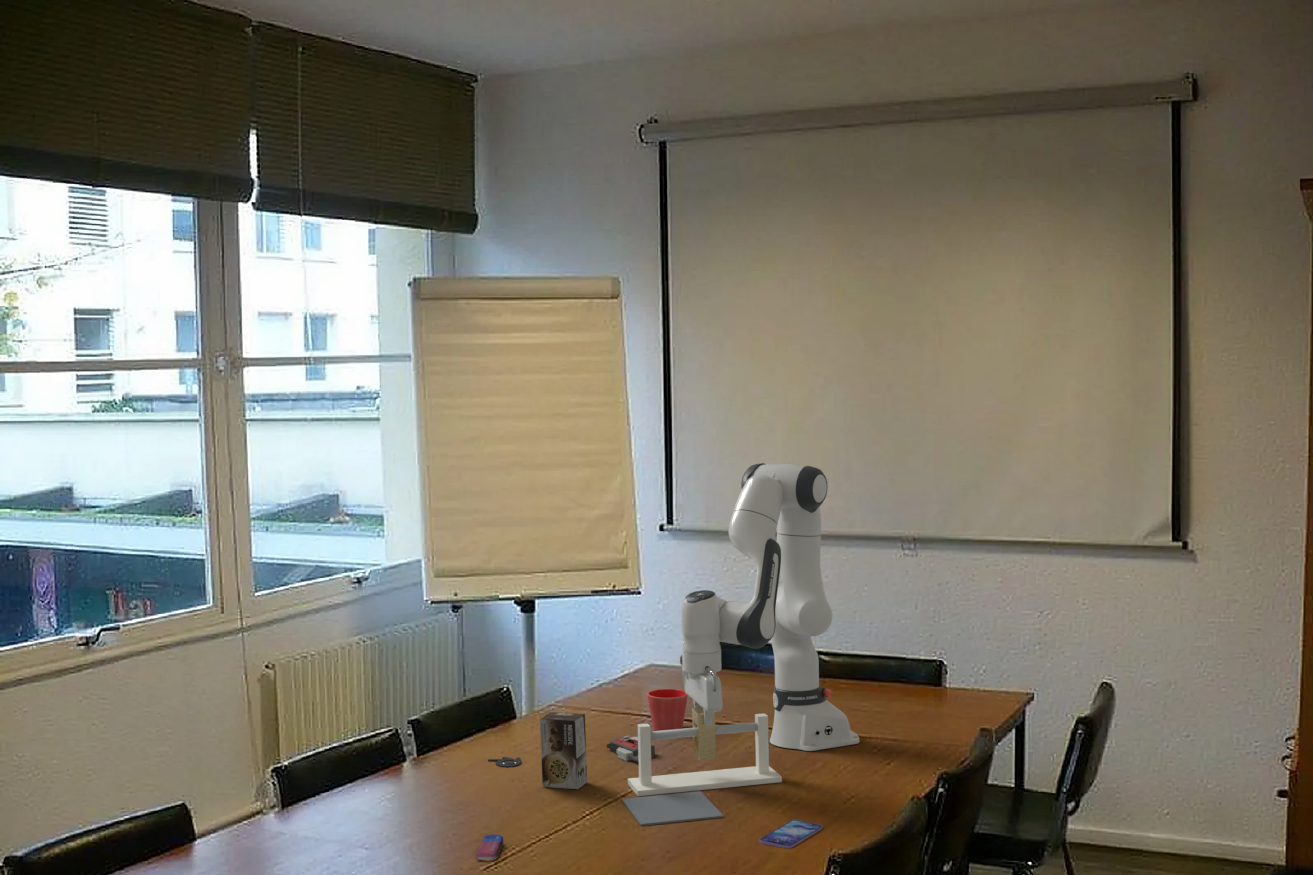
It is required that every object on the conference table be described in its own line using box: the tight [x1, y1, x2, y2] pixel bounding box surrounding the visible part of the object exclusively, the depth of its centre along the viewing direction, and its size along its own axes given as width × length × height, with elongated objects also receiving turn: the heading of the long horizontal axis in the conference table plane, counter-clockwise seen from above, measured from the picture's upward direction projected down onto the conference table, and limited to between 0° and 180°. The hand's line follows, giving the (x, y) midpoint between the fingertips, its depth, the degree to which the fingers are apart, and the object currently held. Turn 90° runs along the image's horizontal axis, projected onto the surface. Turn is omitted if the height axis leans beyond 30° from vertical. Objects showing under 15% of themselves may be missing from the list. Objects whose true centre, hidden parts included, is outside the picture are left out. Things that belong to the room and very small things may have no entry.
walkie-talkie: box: [606, 735, 656, 764], centre depth 351 cm, size 9×4×20 cm
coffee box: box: [539, 711, 588, 790], centre depth 328 cm, size 9×6×16 cm
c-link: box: [691, 707, 717, 762], centre depth 327 cm, size 4×5×11 cm
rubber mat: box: [621, 790, 724, 827], centre depth 309 cm, size 18×18×1 cm
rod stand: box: [627, 713, 783, 797], centre depth 327 cm, size 34×10×15 cm, turn 104°
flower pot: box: [647, 688, 688, 731], centre depth 376 cm, size 11×11×10 cm
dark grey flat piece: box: [487, 756, 522, 768], centre depth 349 cm, size 9×8×1 cm
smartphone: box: [759, 819, 824, 849], centre depth 291 cm, size 7×1×15 cm
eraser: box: [475, 833, 504, 860], centre depth 285 cm, size 11×4×2 cm, turn 177°
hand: (703, 722), depth 327 cm, fingers closed on c-link, 5 cm apart
